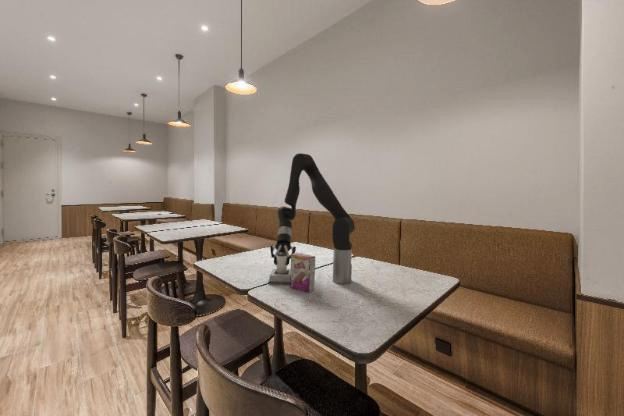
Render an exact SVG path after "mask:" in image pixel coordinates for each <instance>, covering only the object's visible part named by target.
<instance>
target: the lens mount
mask: <svg viewBox="0 0 624 416" xmlns="http://www.w3.org/2000/svg"><path fill="white" fill-rule="evenodd" d="M276 269H277V268H272V270H271V272H270V273H269V279H268V281H267V284H268V285H287V286H288V285H289V286H290V277H291V268H287V272H286V273H277V272H276Z"/></svg>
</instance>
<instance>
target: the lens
mask: <svg viewBox="0 0 624 416" xmlns="http://www.w3.org/2000/svg"><path fill="white" fill-rule="evenodd" d="M286 261H287V252H277V265H276V268H275V269H276V272H277V273H286V272H287V269H288V268H287V267H288V266H286Z"/></svg>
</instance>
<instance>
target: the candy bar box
mask: <svg viewBox="0 0 624 416" xmlns="http://www.w3.org/2000/svg"><path fill="white" fill-rule="evenodd" d="M290 255H291V258H290V269H291V277H290V285H289V286H290V288H291V289H295V290H299V291H302V292H305V293H311V292H313V291H314V290H315V276H316V256H315V255H311V254H307V253H302V252H301V253H300V252H295V253H293V254H290Z"/></svg>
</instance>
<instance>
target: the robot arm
mask: <svg viewBox="0 0 624 416" xmlns="http://www.w3.org/2000/svg"><path fill="white" fill-rule="evenodd" d="M302 171H304V172H305V173H306V175H307V176H308V178H309V180H310V185H311V190H312V193H313V195H314V197H315V198H316V200H317V201H318V203H319V204H320V205H321V206H322V207H323V208H325V210H327V211H328V212H329V214H331V216H333V218H334V221H333V223H332V231H331V232H332V233H331V234H332V236H331V237H332V240H331V241H332V244H333V256H332V257H333V259H332V260H333V261H332V282H333V283H336V284H339V285H340V284H341V285H346V284H351V283H352V273H353V272H352V271H353V270H352V268H353V265H352V252H353V251H352V249H353V248H352V247H353V243H351V242H350V234H352V233H353V232H354V231H355V228H356V226H355V222H354V220H353V219H352V217H351V216H350V215H349V214H348V212H347V211H346V209H345V208H344V207H343V206H342V204H341V203H340V201H339V199H338V197H337V196H336V195H335V193H334V191H333V190H332V188H331V186H330V185H329V183H328V182H327V181H326V179H325V177H324V176H323V174H322V173H321V172H320V170H319V168H318V166H317V164H316V162H315V160H314V158H313V157H312V156H311V155H310V154H307V153H301V152H299V153H296V154H295V155H294V156H293V157H292V161H291V166H290V174H289V175H290V176H289V183H288V187H287V191H286V194H285V197H284V203H285V204H286V205H288V206H290V207H288V206H279V208H278V210H277V217H278V218H277V219H278V222H279V224H278V230H277V237H276V243H275V245H270V246H269V250H270V255H271V258H273V264H274V266H277V252H287V261H286V266H287V267H288V266H289V265H290V262H291V254H293V253H296V251H297V247H296V246H292V245H291V242H292V227H293V222H292V221H293V220H294V219H295V218H296V216H297V211H296V209H297V208H296V207H297V202H298V199H299V196H300V191H301V189H300V187H301V186H300V176H301V174H302ZM275 250H276V251H275ZM274 251H275V253H274ZM290 251H291V254H290Z"/></svg>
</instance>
